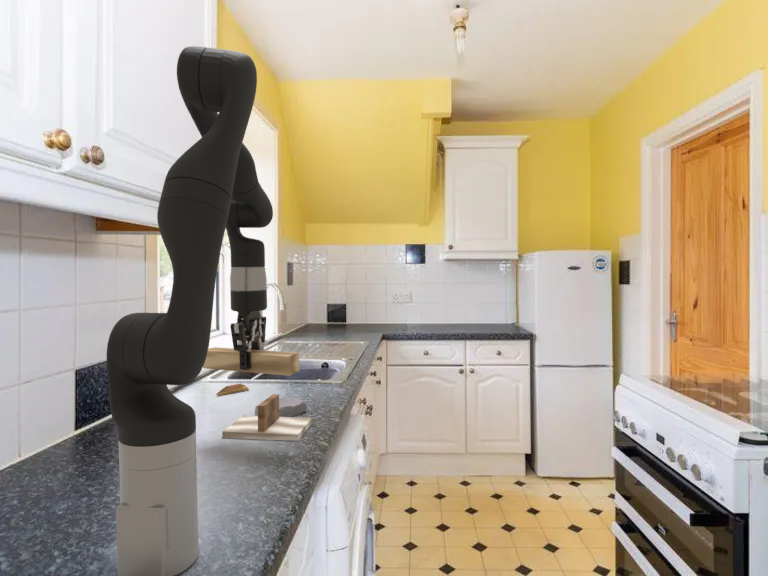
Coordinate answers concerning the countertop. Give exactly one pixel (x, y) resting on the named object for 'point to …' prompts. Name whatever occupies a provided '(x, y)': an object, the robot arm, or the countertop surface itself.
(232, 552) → the countertop surface
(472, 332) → the countertop surface
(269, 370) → the oak batten
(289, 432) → the stand
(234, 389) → the shard
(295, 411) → the stone block
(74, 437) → the countertop surface
